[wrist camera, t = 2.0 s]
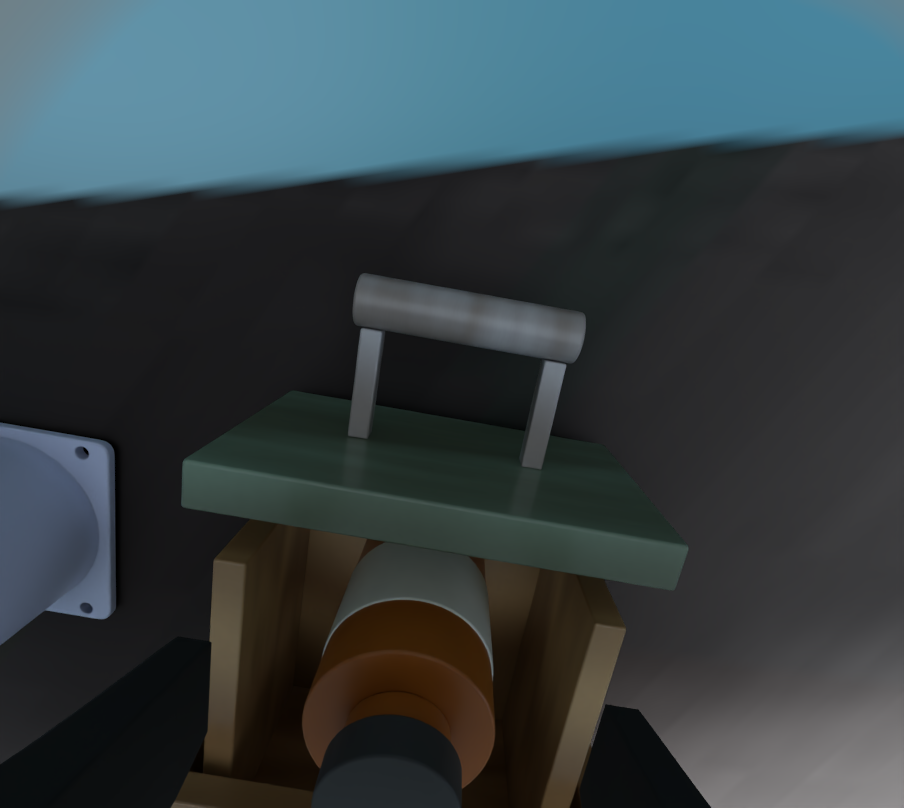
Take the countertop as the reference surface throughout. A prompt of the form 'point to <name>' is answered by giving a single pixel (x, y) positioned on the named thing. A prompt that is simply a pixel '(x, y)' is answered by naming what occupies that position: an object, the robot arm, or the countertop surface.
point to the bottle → (404, 683)
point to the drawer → (425, 545)
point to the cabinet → (260, 791)
